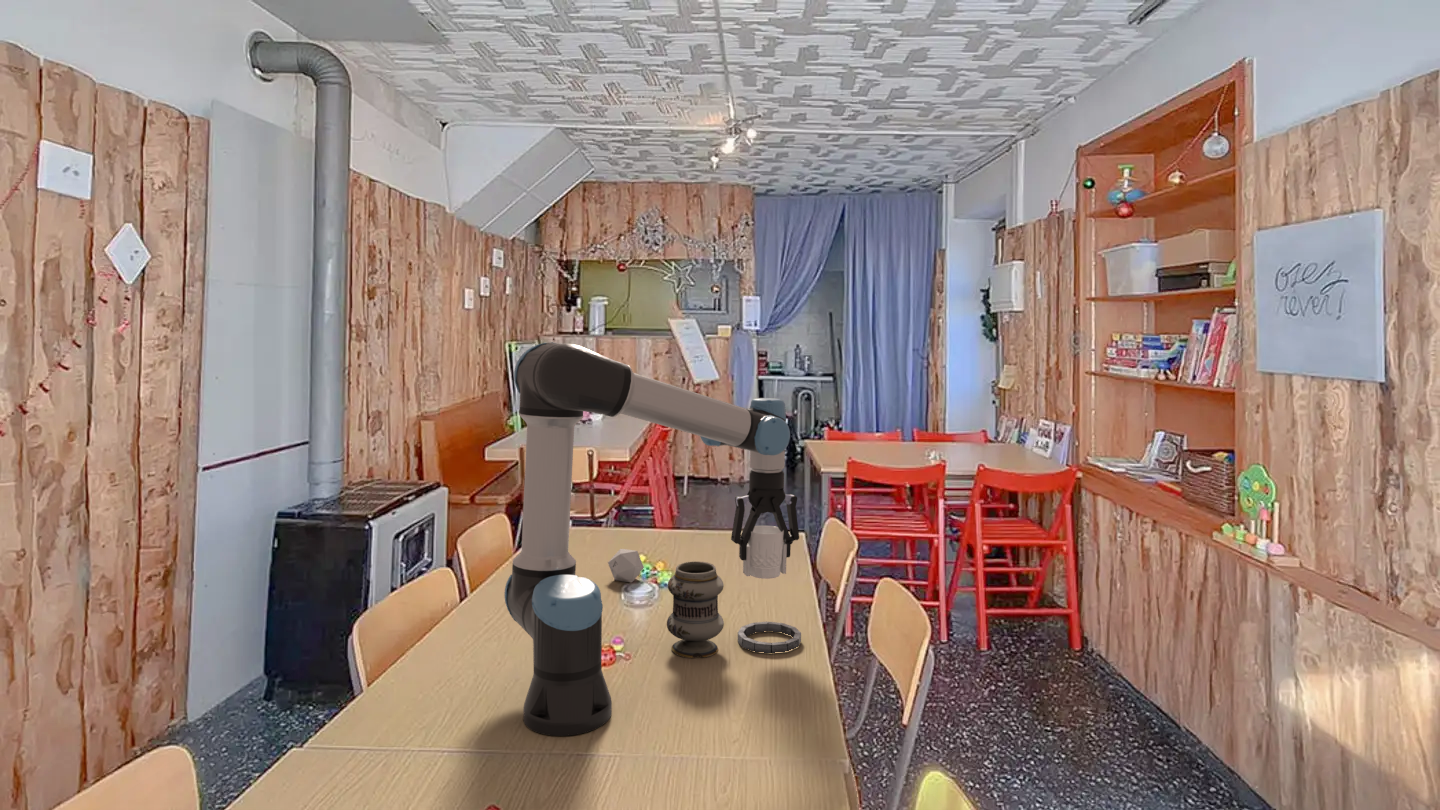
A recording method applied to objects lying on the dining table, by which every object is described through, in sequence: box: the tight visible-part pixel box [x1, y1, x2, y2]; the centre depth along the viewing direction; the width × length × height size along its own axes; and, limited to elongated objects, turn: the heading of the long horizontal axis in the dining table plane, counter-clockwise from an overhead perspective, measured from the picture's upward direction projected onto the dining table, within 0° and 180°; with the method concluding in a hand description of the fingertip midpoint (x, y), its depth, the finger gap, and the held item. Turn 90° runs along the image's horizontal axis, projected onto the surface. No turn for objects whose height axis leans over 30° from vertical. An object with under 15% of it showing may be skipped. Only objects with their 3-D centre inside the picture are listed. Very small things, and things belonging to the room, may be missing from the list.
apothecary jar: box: [666, 560, 725, 659], centre depth 169 cm, size 12×12×18 cm
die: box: [607, 548, 645, 583], centre depth 217 cm, size 8×9×10 cm
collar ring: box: [737, 621, 802, 654], centre depth 174 cm, size 13×13×2 cm
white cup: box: [748, 524, 784, 580], centre depth 174 cm, size 8×8×10 cm
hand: (764, 573), depth 174 cm, fingers closed on white cup, 8 cm apart
